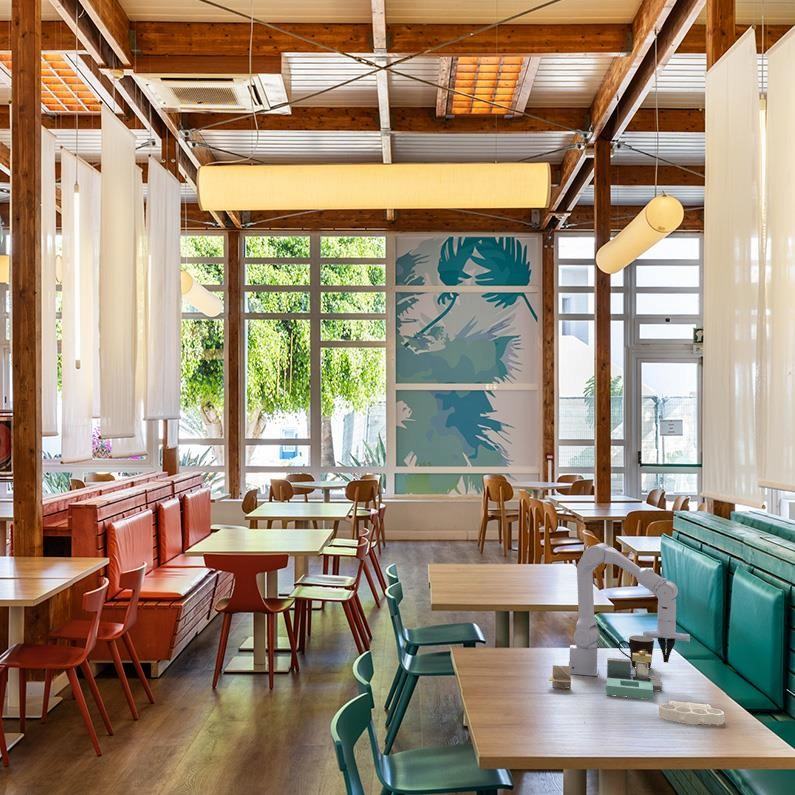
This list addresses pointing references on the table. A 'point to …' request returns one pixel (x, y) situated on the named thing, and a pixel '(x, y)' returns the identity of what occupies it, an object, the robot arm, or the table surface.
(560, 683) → the architectural model
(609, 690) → the holder
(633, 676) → the socket block
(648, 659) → the yellow small block
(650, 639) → the coffee mug
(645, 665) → the white upright block
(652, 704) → the table surface
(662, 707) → the white brass knuckles
